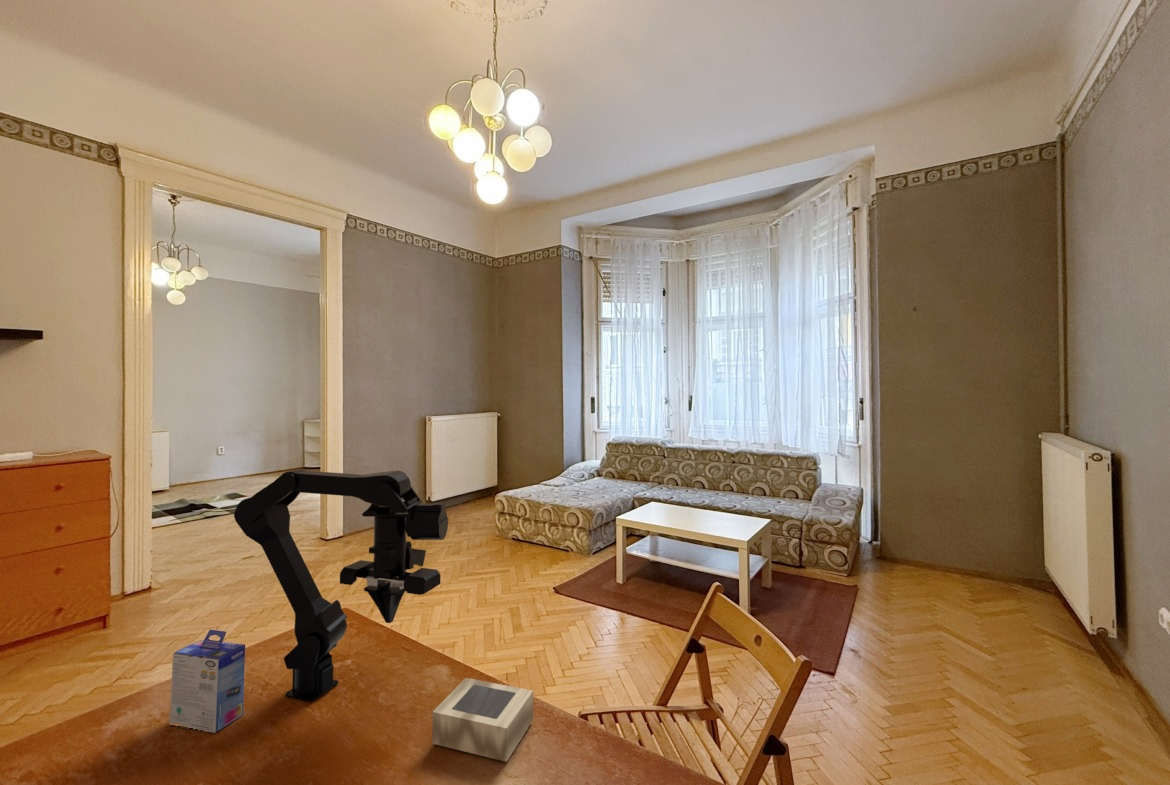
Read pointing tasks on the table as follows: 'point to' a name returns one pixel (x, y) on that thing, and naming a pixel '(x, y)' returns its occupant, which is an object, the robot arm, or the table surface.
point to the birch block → (483, 718)
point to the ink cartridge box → (207, 684)
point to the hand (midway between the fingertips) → (389, 622)
